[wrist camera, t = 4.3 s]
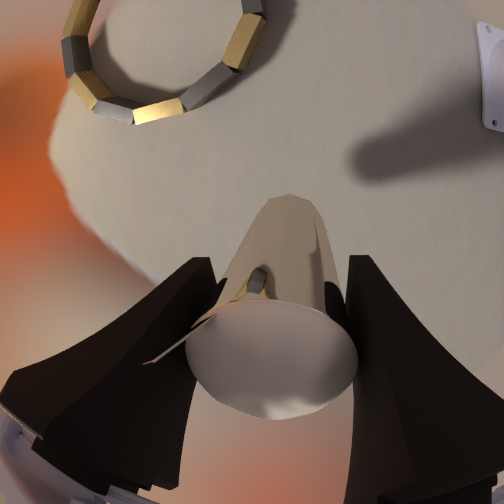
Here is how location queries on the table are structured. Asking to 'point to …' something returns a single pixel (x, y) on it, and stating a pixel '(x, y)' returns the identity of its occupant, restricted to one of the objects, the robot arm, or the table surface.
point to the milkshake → (275, 320)
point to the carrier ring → (134, 112)
